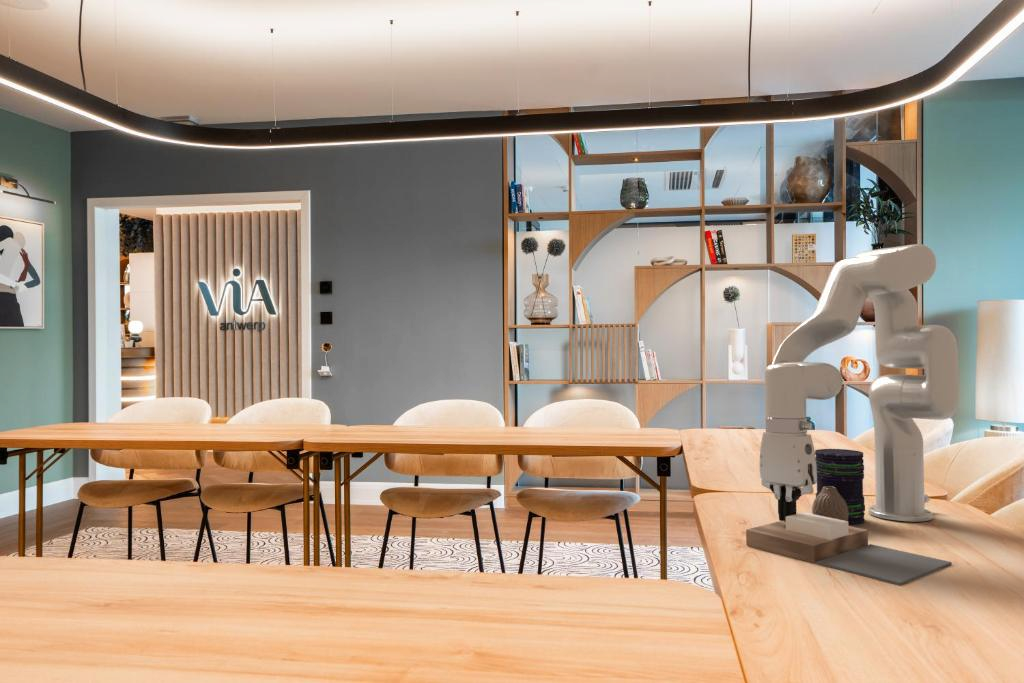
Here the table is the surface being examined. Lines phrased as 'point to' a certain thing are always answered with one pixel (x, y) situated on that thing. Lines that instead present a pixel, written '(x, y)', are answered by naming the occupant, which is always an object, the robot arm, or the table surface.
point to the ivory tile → (817, 526)
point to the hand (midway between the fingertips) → (787, 520)
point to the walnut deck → (803, 542)
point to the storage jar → (843, 478)
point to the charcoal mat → (885, 564)
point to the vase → (830, 504)
